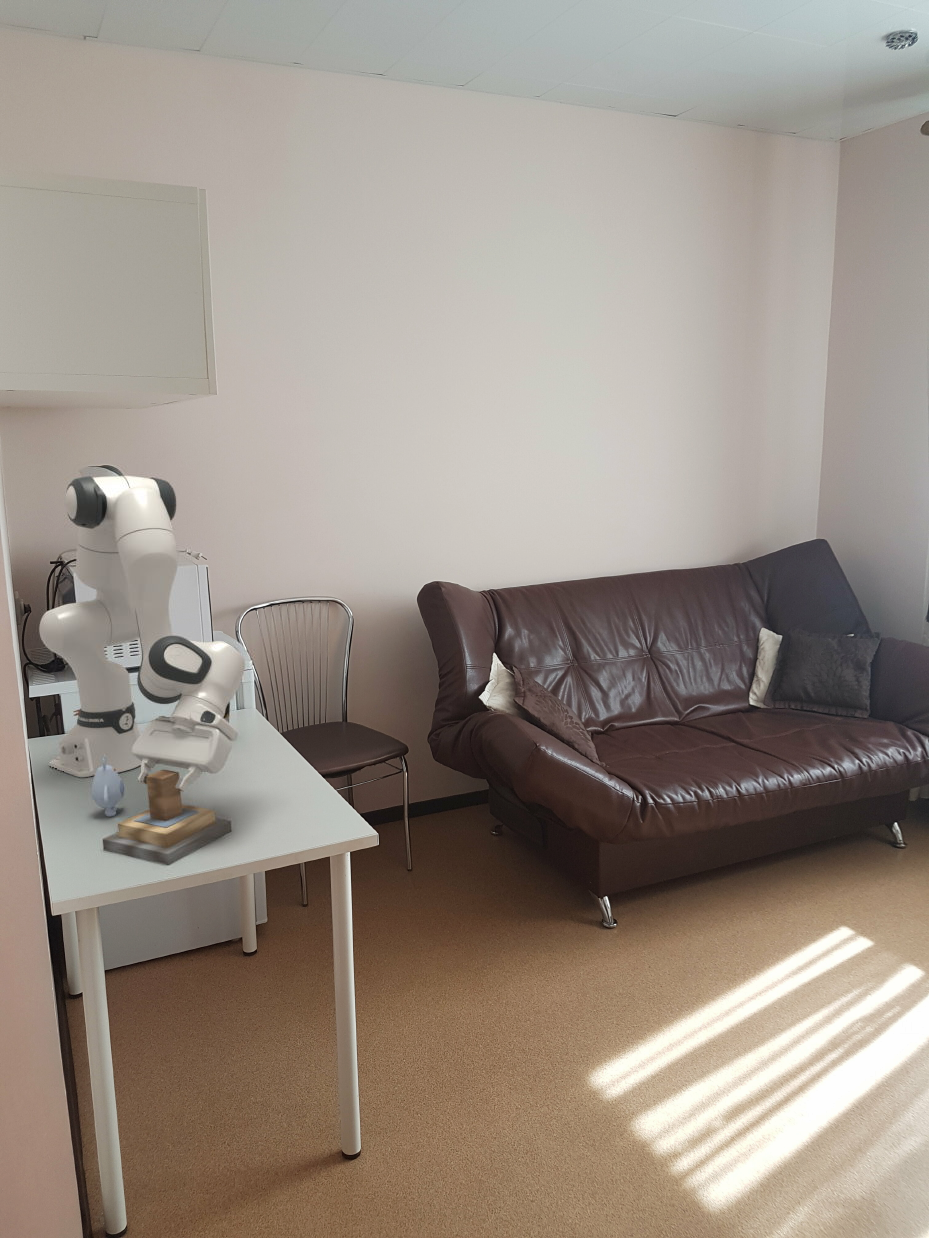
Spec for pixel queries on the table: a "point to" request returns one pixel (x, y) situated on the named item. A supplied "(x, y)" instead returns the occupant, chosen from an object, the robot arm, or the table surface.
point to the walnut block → (164, 795)
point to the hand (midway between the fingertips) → (161, 786)
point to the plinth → (171, 850)
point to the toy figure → (107, 788)
